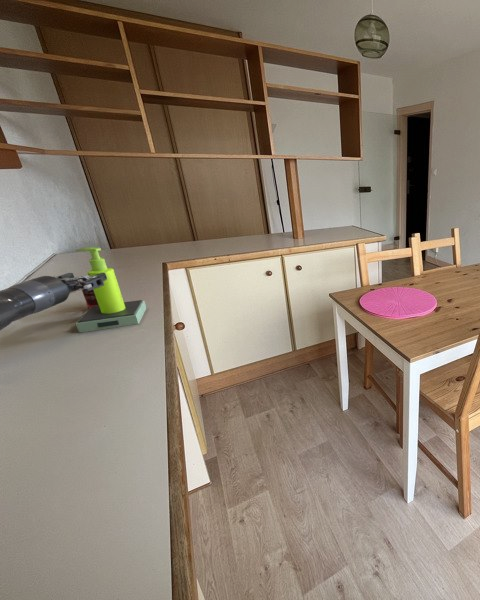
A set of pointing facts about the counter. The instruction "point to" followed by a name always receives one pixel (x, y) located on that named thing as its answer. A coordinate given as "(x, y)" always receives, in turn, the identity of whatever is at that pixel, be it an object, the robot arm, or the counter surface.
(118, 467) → the counter surface
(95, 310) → the scale
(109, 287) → the soap dispenser
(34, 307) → the robot arm
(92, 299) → the canned food
